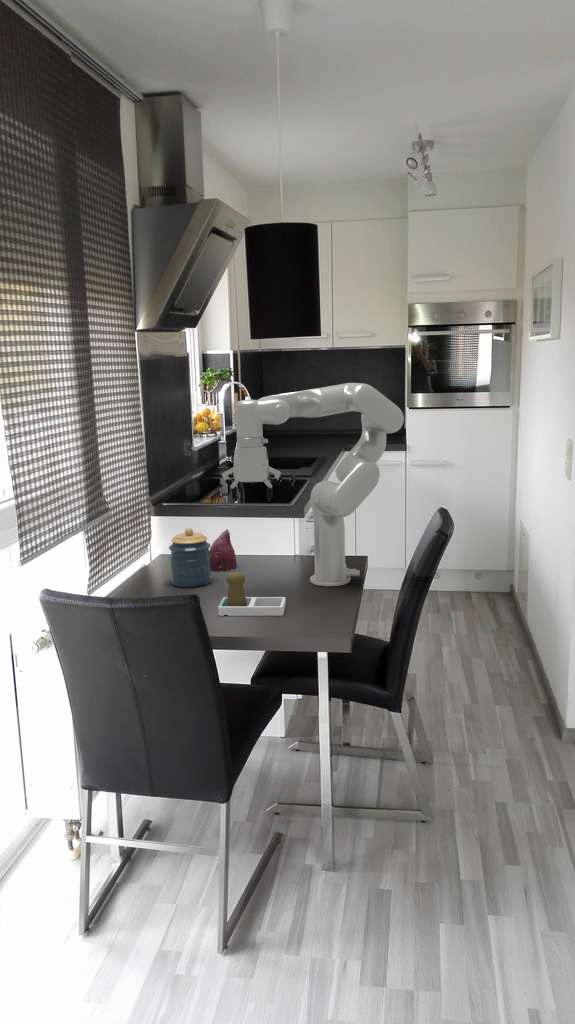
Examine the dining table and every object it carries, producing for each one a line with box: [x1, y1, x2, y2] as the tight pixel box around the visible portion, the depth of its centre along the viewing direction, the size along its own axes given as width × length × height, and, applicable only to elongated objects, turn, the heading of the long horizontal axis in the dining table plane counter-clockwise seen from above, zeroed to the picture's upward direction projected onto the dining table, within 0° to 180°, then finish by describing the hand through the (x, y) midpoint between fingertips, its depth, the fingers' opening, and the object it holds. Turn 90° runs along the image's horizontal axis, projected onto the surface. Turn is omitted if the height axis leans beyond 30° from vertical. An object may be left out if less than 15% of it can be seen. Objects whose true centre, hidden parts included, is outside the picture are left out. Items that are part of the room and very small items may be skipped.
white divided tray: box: [217, 596, 287, 617], centre depth 232 cm, size 18×9×2 cm, turn 85°
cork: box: [225, 571, 247, 606], centre depth 232 cm, size 6×6×11 cm
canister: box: [168, 527, 213, 588], centre depth 261 cm, size 13×13×18 cm
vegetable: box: [209, 529, 238, 572], centre depth 277 cm, size 10×10×15 cm
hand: (252, 500), depth 243 cm, fingers open, 9 cm apart
